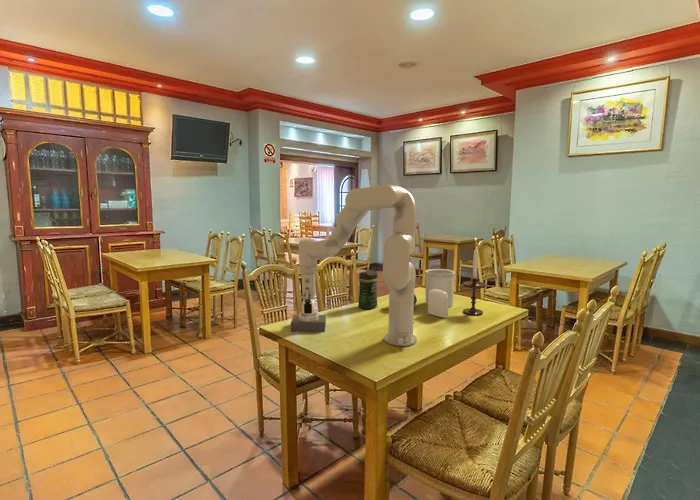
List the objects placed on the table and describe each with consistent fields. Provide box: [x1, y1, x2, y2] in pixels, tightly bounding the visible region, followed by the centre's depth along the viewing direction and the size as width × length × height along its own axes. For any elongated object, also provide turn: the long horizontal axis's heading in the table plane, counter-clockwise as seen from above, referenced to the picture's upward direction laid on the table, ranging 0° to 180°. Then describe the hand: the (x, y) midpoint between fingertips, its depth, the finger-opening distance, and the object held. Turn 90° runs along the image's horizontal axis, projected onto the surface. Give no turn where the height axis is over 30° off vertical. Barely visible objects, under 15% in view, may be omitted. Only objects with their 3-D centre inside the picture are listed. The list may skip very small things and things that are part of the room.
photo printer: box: [427, 289, 449, 319], centre depth 183 cm, size 10×4×12 cm, turn 39°
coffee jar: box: [358, 269, 379, 310], centre depth 196 cm, size 10×8×19 cm
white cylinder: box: [302, 298, 316, 316], centre depth 165 cm, size 5×5×8 cm
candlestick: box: [462, 241, 487, 317], centre depth 186 cm, size 11×11×35 cm
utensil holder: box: [424, 268, 455, 308], centre depth 202 cm, size 15×15×18 cm
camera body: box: [290, 311, 327, 333], centre depth 166 cm, size 10×14×6 cm
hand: (308, 310), depth 166 cm, fingers open, 6 cm apart
